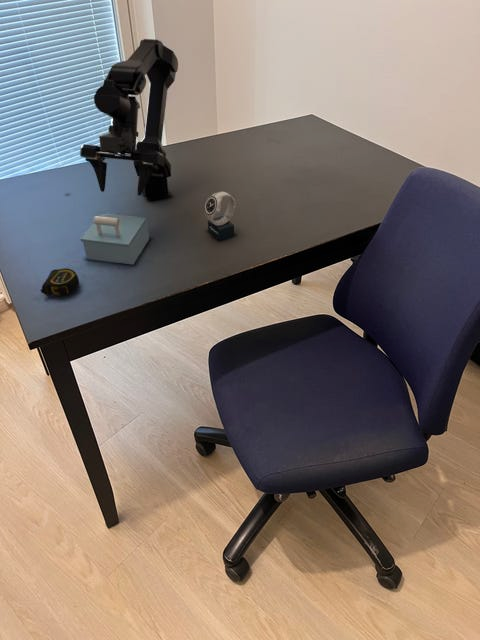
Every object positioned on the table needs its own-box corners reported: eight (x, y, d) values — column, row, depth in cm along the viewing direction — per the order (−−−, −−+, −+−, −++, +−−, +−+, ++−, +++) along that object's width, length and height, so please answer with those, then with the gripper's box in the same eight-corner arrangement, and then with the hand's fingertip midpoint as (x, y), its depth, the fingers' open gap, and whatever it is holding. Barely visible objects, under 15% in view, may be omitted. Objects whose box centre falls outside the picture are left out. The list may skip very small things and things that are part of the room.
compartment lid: (128, 247, 108) (125, 227, 104) (80, 241, 109) (76, 221, 106) (146, 220, 117) (144, 201, 114) (102, 215, 118) (98, 196, 115)
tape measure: (55, 279, 107) (51, 265, 105) (85, 281, 107) (81, 267, 104) (43, 298, 102) (38, 284, 99) (74, 300, 101) (70, 286, 99)
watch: (201, 233, 123) (200, 193, 116) (227, 224, 126) (227, 185, 119) (213, 243, 120) (212, 203, 112) (239, 233, 123) (240, 194, 116)
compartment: (133, 264, 112) (130, 245, 108) (86, 259, 113) (82, 239, 110) (149, 239, 120) (146, 220, 117) (105, 234, 122) (102, 215, 118)
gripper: (69, 112, 104) (66, 186, 107) (151, 119, 101) (146, 194, 104) (92, 124, 115) (89, 190, 118) (167, 130, 112) (162, 198, 115)
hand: (120, 193), depth 113 cm, fingers open, 9 cm apart
